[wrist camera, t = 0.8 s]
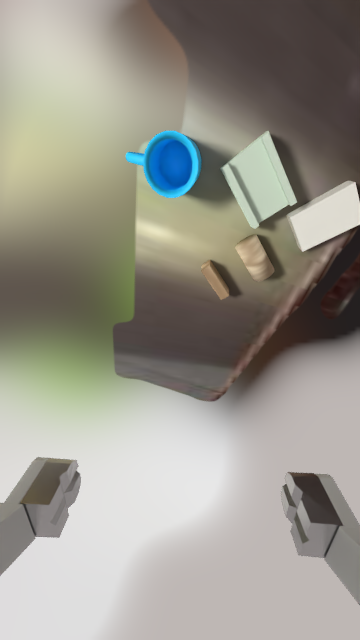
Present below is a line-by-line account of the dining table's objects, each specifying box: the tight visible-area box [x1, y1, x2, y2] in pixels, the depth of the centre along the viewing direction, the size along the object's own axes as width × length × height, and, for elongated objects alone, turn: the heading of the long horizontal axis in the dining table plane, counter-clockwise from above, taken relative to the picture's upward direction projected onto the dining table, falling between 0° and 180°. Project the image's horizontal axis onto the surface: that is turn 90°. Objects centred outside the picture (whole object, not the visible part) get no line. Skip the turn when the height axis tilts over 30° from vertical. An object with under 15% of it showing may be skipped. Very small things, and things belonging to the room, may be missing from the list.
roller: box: [235, 234, 274, 281], centre depth 46 cm, size 4×8×4 cm, turn 36°
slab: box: [287, 181, 360, 252], centre depth 41 cm, size 10×7×3 cm
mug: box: [126, 131, 202, 198], centre depth 37 cm, size 12×8×8 cm
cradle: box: [220, 131, 297, 229], centre depth 38 cm, size 8×11×4 cm
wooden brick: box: [201, 260, 229, 300], centre depth 50 cm, size 2×8×4 cm, turn 36°
